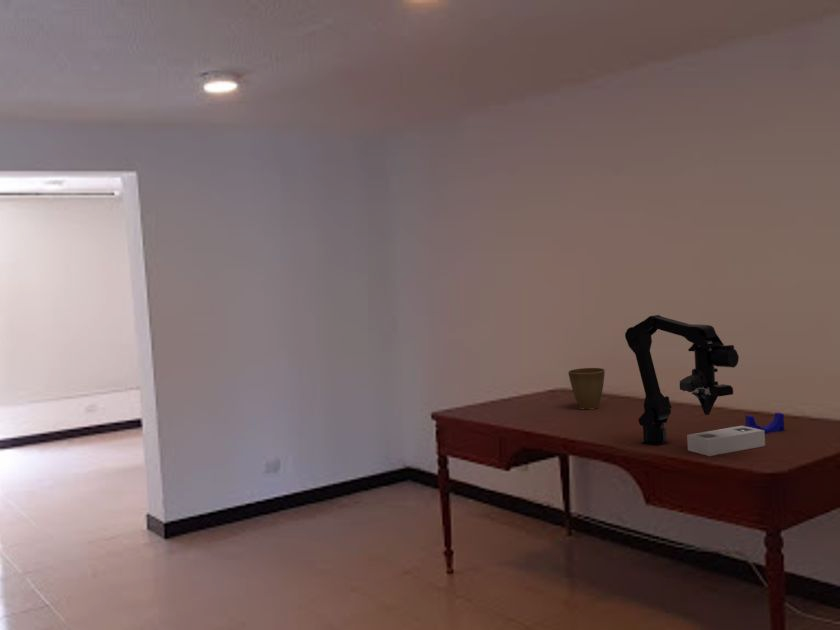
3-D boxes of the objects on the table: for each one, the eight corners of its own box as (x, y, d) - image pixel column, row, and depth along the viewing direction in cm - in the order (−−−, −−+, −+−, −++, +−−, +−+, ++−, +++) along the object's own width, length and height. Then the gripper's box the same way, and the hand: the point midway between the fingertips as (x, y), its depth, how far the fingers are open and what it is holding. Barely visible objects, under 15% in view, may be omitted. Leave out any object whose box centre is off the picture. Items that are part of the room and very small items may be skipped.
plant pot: (576, 404, 368) (574, 367, 367) (610, 405, 361) (608, 367, 360) (565, 411, 355) (563, 372, 354) (601, 412, 348) (599, 372, 347)
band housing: (687, 450, 274) (687, 434, 273) (742, 440, 282) (741, 425, 281) (709, 456, 264) (708, 440, 264) (765, 446, 272) (764, 430, 272)
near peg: (699, 449, 271) (698, 435, 271) (709, 447, 273) (708, 433, 273) (707, 452, 268) (707, 437, 267) (718, 450, 269) (717, 435, 269)
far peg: (734, 443, 277) (733, 429, 276) (744, 441, 278) (743, 427, 278) (743, 445, 273) (742, 431, 273) (753, 443, 274) (752, 429, 274)
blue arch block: (752, 435, 289) (751, 417, 289) (746, 432, 294) (745, 415, 293) (786, 432, 290) (785, 414, 290) (780, 429, 294) (779, 412, 294)
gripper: (664, 365, 275) (667, 413, 276) (703, 371, 258) (706, 422, 259) (693, 362, 279) (695, 409, 280) (733, 367, 262) (735, 418, 263)
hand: (706, 414), depth 271 cm, fingers closed
